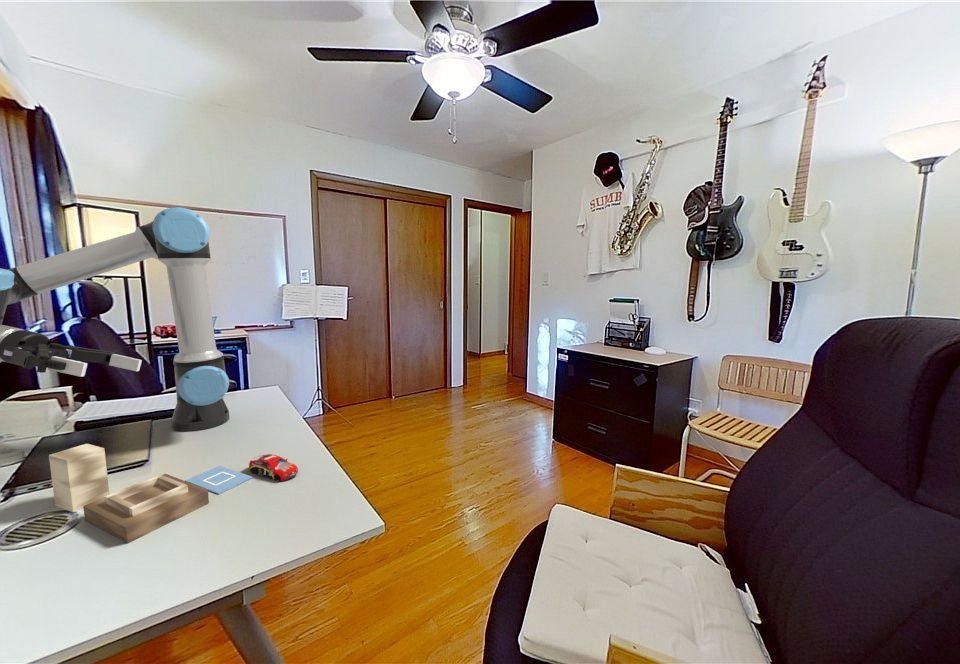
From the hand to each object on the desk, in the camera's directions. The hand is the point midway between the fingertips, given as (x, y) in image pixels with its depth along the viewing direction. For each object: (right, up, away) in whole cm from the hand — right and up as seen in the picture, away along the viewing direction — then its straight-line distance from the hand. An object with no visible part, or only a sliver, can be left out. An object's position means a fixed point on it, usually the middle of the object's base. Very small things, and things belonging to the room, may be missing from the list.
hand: (114, 367), depth 87 cm
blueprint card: (+20, -27, +5) cm, 34 cm away
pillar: (-2, -28, -5) cm, 28 cm away
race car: (+30, -27, +9) cm, 42 cm away
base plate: (+14, -28, -8) cm, 33 cm away
